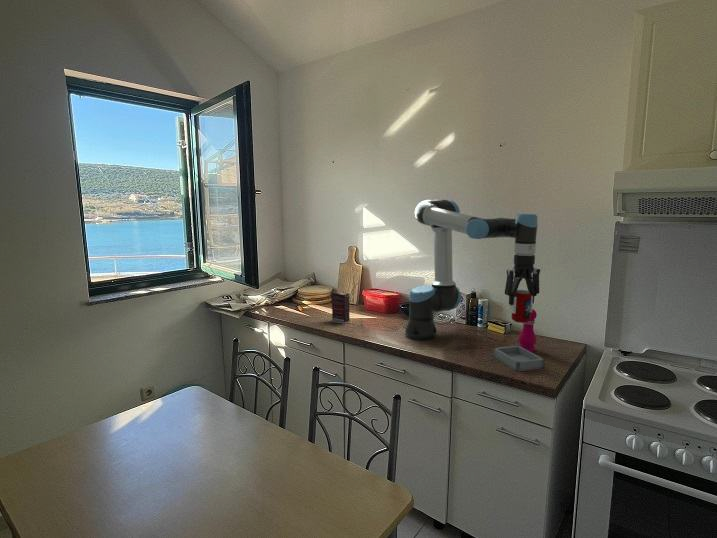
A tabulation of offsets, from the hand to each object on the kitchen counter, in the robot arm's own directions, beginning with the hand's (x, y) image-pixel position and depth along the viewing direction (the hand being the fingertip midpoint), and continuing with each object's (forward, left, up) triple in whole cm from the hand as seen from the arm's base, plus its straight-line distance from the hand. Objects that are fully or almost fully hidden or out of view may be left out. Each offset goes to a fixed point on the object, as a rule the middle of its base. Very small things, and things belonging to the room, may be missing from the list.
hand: (520, 311), depth 161 cm
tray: (0, 0, -21) cm, 21 cm away
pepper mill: (-11, +13, -21) cm, 27 cm away
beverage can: (0, 0, -4) cm, 4 cm away
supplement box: (-73, -56, -21) cm, 95 cm away
